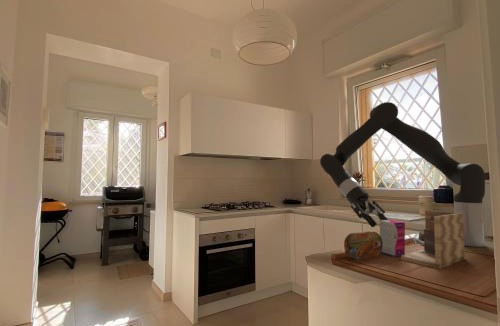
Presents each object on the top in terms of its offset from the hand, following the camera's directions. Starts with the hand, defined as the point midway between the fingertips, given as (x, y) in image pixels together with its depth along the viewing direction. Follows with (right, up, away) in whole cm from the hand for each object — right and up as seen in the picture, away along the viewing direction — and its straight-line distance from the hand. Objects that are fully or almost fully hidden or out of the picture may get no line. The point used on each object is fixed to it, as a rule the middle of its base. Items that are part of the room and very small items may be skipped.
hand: (381, 224), depth 97 cm
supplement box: (+2, -10, -4) cm, 10 cm away
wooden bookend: (+12, -9, -9) cm, 18 cm away
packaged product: (+26, -11, +9) cm, 30 cm away
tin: (-10, -9, -8) cm, 16 cm away
